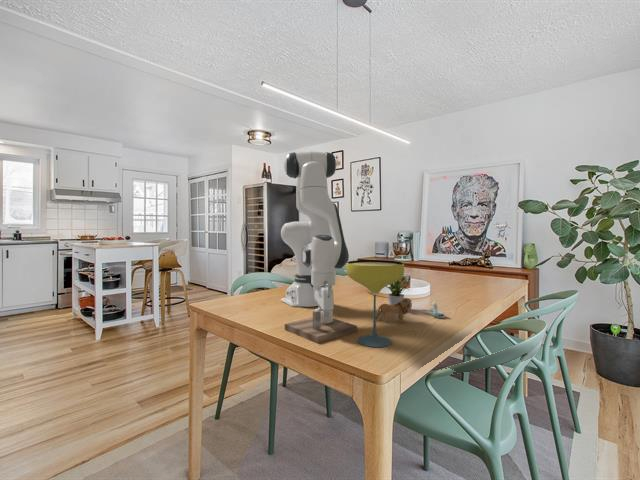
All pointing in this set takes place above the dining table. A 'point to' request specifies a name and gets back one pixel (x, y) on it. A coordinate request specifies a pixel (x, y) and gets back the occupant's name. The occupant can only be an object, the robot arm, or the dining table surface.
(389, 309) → the lion figurine
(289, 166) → the robot arm
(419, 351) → the dining table surface
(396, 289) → the house plant
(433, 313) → the pacifier
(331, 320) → the white hollow tube
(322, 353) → the dining table surface
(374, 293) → the cocktail glass
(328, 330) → the board
